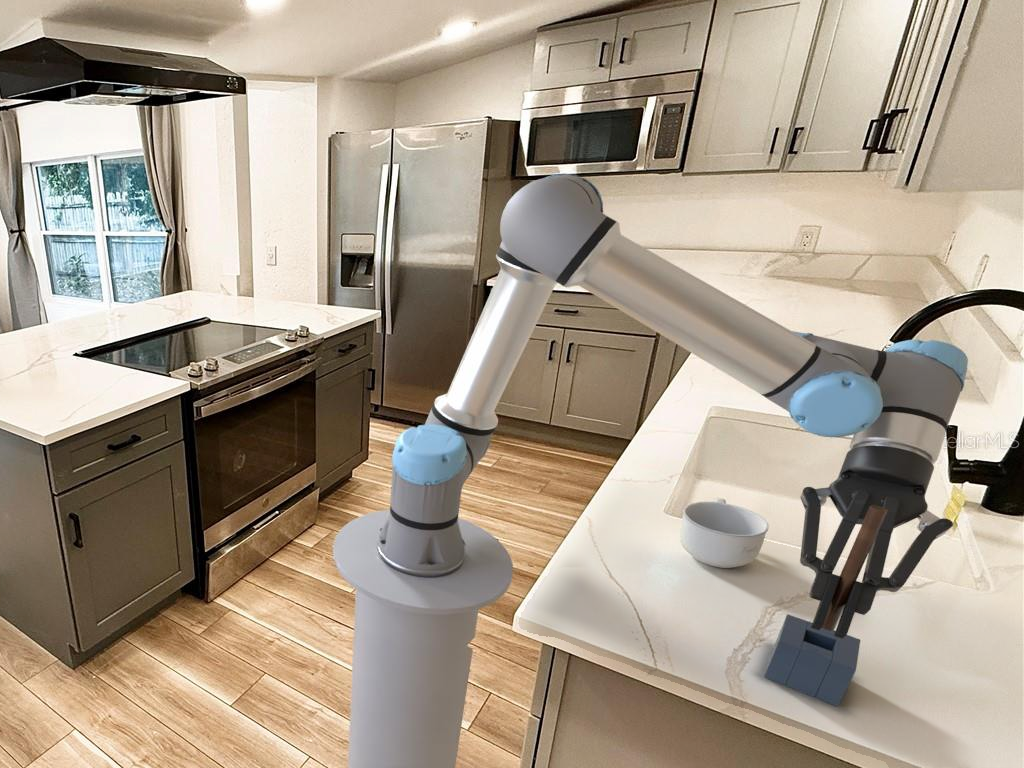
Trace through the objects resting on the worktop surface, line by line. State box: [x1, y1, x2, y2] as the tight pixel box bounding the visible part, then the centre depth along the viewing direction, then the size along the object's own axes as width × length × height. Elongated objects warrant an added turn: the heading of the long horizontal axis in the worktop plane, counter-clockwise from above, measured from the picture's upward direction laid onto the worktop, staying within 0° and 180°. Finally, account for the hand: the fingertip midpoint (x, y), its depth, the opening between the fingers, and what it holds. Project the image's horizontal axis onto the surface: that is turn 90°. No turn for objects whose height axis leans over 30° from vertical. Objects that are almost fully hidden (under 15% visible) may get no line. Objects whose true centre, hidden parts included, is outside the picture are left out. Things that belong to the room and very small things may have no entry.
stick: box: [822, 505, 887, 631], centre depth 72 cm, size 1×1×17 cm
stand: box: [764, 613, 861, 708], centre depth 78 cm, size 7×7×6 cm
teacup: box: [679, 497, 769, 569], centre depth 102 cm, size 14×11×8 cm
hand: (828, 630), depth 72 cm, fingers closed on stick
